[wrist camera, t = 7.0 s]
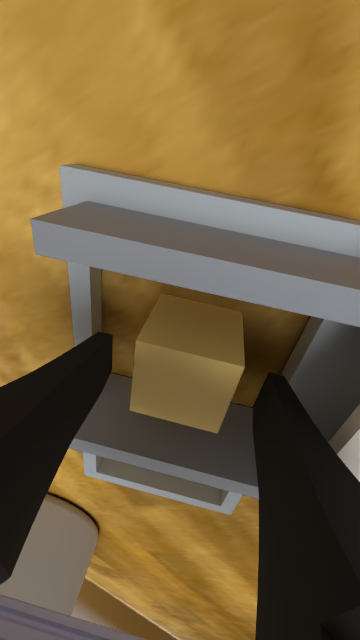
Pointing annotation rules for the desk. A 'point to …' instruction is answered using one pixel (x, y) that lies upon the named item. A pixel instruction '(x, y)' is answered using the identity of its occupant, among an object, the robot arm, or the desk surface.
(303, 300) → the gray square frame
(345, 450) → the cover
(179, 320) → the block
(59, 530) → the cylinder vase
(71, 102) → the desk surface
